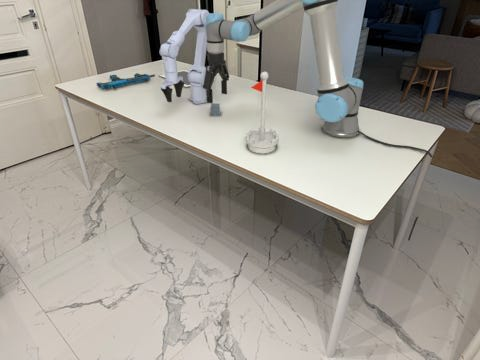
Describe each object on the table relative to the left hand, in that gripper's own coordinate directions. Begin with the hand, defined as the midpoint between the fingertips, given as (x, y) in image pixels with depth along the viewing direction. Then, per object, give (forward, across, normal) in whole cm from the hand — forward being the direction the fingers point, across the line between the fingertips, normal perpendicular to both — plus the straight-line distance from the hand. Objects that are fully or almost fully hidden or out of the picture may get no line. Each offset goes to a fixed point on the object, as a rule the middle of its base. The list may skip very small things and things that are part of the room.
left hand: (174, 99), depth 165 cm
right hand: (-1, -8, +20) cm, 21 cm away
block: (+7, -7, +19) cm, 21 cm away
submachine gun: (+7, -27, -57) cm, 63 cm away
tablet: (+7, -50, -28) cm, 57 cm away
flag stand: (+7, +15, +54) cm, 56 cm away
